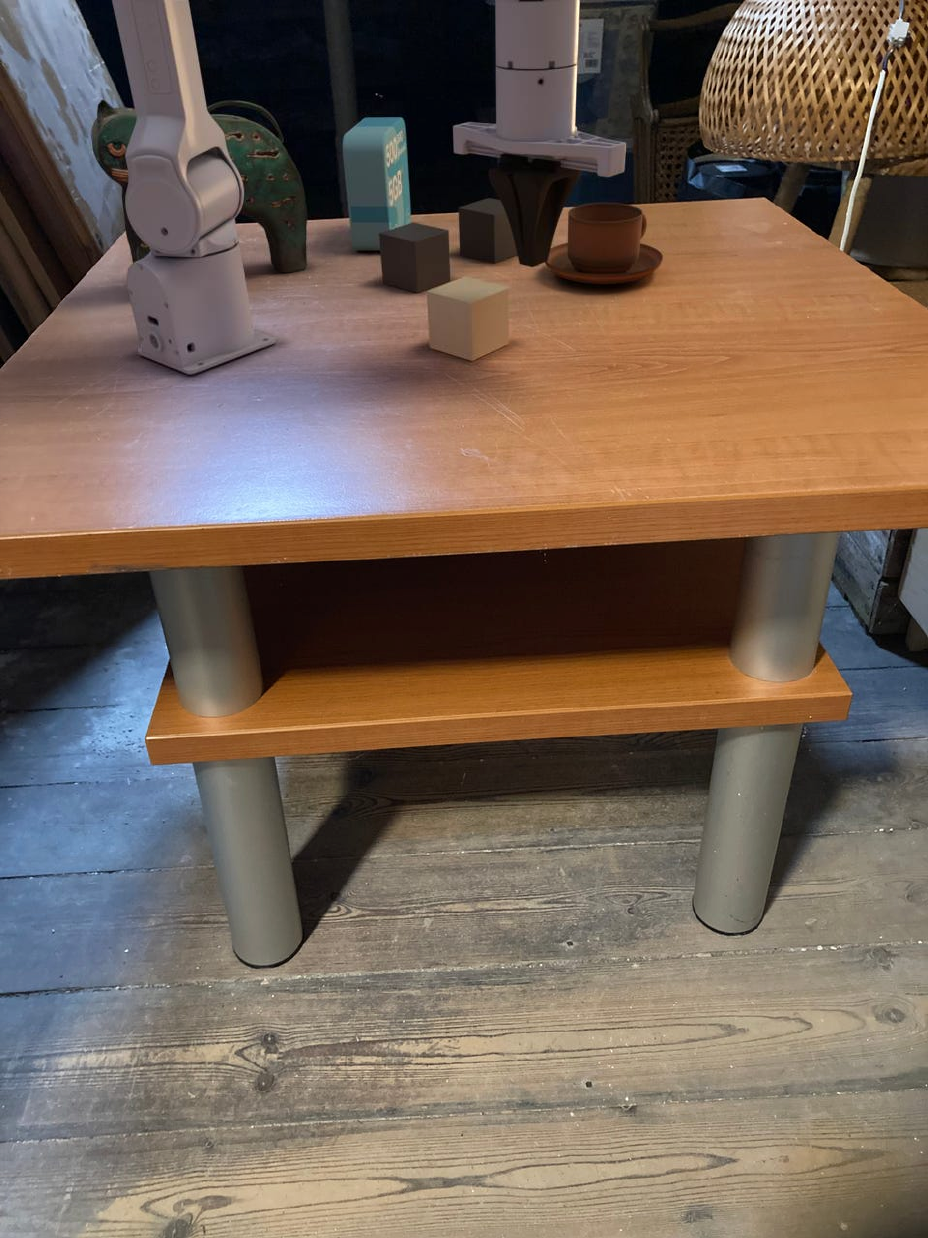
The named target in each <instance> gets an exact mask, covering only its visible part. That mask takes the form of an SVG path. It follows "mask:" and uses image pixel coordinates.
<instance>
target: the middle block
mask: <svg viewBox="0 0 928 1238" xmlns="http://www.w3.org/2000/svg"><path fill="white" fill-rule="evenodd" d="M379 243H380V251H379V254H380V266H381V280H382V285H386V286H390V287H394V288H398V289H401V290H404V291H409V292H413V293H416V294H419V293H420V292H424V291H426V290H430V289H433V288H435V287H438V286H440V285H443V284H444V283H445V284H446V283H448V282H451V257H450V255H451V254H450V231H449V229H445V228H440V227H437V226H436V227H435V226H431V225H427V224H422V223H417V222H410V224H407V225H404V226H401V227H398V228H394V229H391V230H388V231H385V232H382V233H379Z"/></svg>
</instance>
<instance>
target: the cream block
mask: <svg viewBox="0 0 928 1238" xmlns="http://www.w3.org/2000/svg"><path fill="white" fill-rule="evenodd" d="M426 301H427V302H426V303H427V323H428V337H429V339H428V340H429V341H428V342H429V348H430V349H432V350H435V351H439V352H442V353H444V354H448V355H451V356H455V357H458V358H461V359H464V360H467V361H470V362H473V361H476V360H477V359H480V358H482V357H484V356H486V355H488V354H491V353H493V352H495V351H497V350H499V349H501V348H503V347H505V346H507V345H509V344H510V287H509V286H505V285H501V284H499V283H498V284H497V283H493V282H490V281H486V280H482V279H477V278H473V277H470V276H463V277H460V278H458V279H455V280H453V281H449V282H446V283H445V284H441V285H438V286H436V287H433V288H431V289H428V290H427V291H426Z"/></svg>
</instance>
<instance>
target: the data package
mask: <svg viewBox="0 0 928 1238" xmlns="http://www.w3.org/2000/svg"><path fill="white" fill-rule="evenodd" d="M407 145H408V143H407V129H406V122H405V120H404V118H403V117H401V116H399V117H397V116H396V117H364V118H363V119H361V121H359V122H357V124H355V125H354V126H353V127H352V128H350V130H348V131H347V132H345V134H344V135H343V139H342V156H343V167H344V178H345V188H346V199H347V210H348V218H349V219H348V220H349V229H350V239H351V245H352V247H353V249H354V250H355V251H357V252H358V251H361V252H362V251H363V252H364V251H365V252H367V251H369V252H380V243H379V233H382V232H385V231H388V230H391V229H394V228H398V227H401V226H404V225H407V224H410V223H411V220H412V219H411V217H412V211H411V197H410V196H411V195H410V179H409V162H408V146H407Z"/></svg>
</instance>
